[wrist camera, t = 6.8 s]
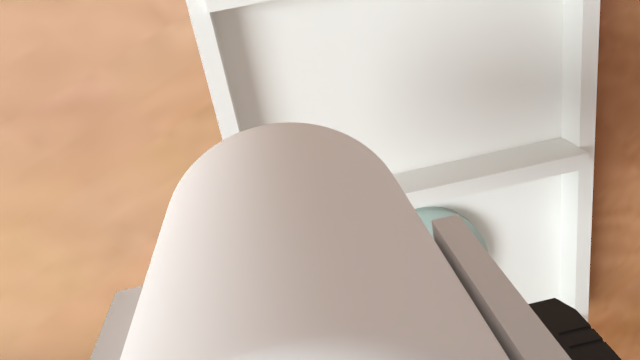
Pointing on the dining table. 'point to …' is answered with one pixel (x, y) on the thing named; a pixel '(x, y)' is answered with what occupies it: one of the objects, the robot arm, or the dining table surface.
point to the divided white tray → (436, 108)
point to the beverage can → (300, 261)
